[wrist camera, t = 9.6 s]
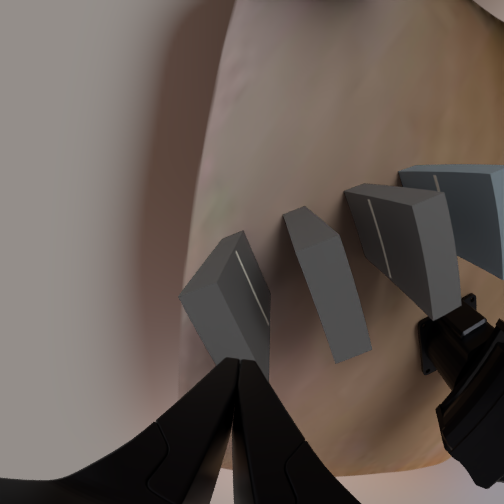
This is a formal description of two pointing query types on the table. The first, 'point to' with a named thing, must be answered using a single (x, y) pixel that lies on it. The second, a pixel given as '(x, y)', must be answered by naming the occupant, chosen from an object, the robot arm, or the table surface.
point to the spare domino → (469, 208)
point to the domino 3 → (409, 242)
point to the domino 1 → (231, 304)
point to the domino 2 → (329, 283)
